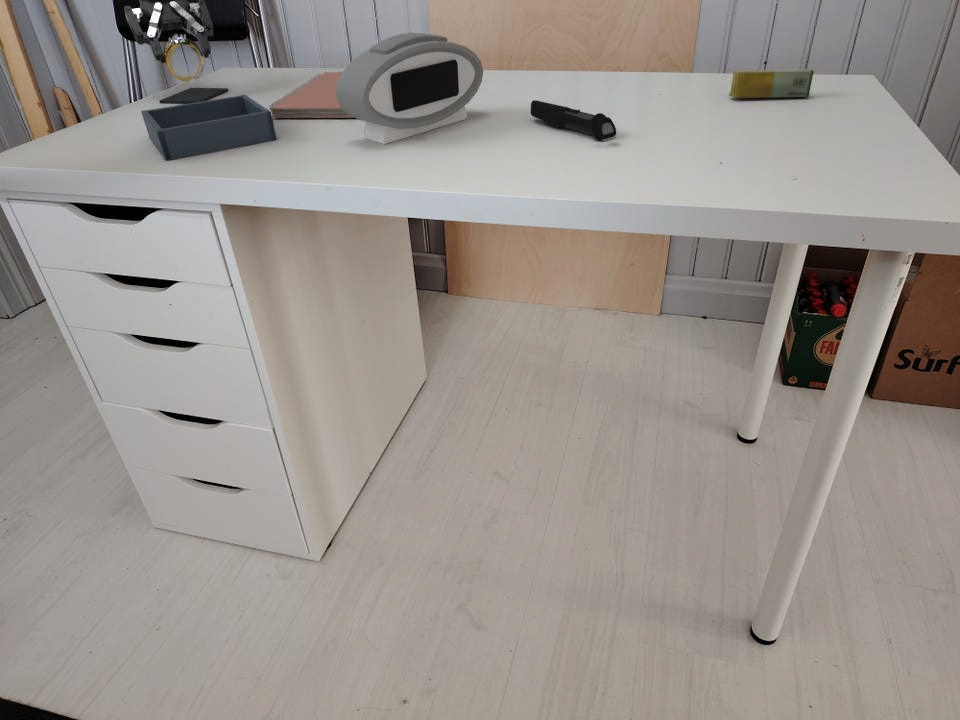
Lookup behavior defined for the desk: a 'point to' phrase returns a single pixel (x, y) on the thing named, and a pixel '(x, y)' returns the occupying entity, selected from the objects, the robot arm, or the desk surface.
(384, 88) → the alarm clock
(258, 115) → the dark blue tray
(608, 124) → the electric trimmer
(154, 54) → the robot arm
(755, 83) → the medication box
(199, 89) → the mat
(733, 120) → the desk surface
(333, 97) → the notebook
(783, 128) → the desk surface
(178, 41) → the ring
